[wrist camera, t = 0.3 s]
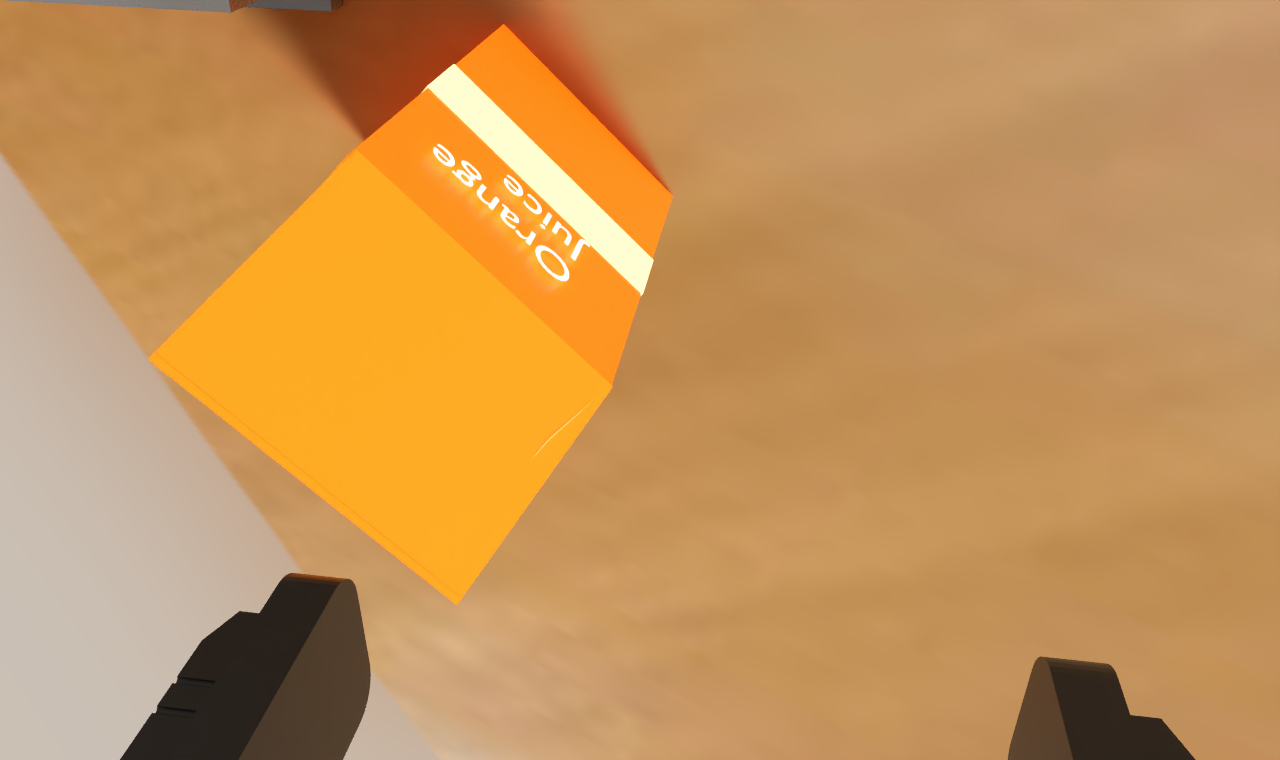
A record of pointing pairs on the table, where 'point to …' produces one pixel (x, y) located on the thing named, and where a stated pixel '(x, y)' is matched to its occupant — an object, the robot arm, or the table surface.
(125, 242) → the table surface
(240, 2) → the rail
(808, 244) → the table surface
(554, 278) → the orange juice
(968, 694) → the table surface
